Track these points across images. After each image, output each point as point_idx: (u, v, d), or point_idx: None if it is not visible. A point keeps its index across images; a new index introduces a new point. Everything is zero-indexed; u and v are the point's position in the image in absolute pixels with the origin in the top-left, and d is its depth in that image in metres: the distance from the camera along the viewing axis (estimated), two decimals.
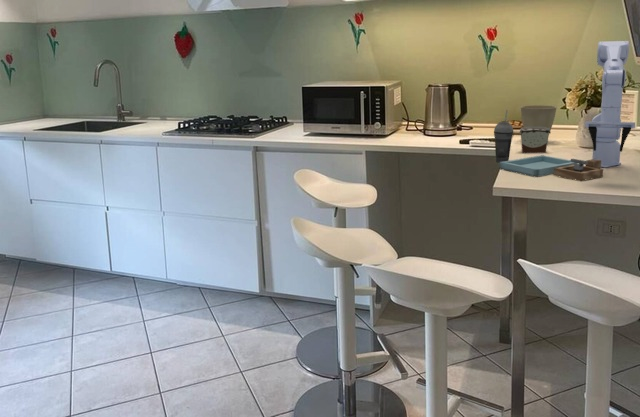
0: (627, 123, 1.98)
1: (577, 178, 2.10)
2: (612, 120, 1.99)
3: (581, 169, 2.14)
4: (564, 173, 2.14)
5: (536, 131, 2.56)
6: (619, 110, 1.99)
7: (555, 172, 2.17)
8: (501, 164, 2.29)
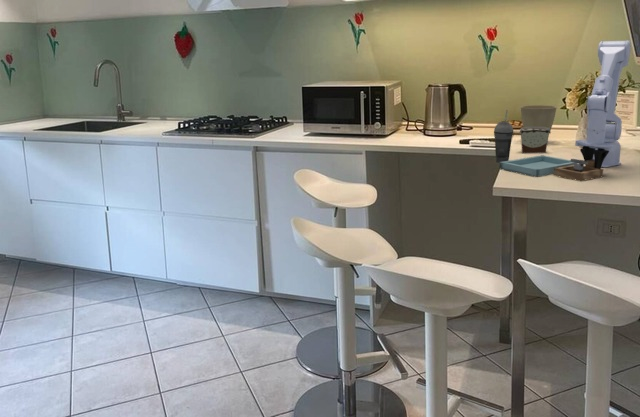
0: (605, 146, 2.12)
1: (577, 178, 2.10)
2: (591, 142, 2.15)
3: (581, 169, 2.14)
4: (564, 173, 2.14)
5: (536, 131, 2.56)
6: (599, 133, 2.13)
7: (555, 172, 2.17)
8: (501, 164, 2.29)
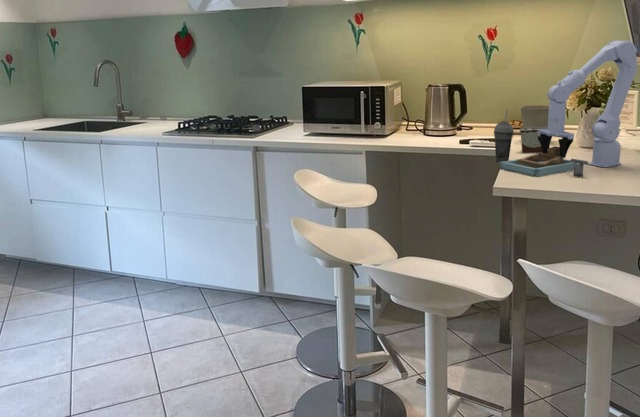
0: (564, 134, 2.24)
1: None
2: (552, 131, 2.27)
3: (581, 169, 2.14)
4: (527, 164, 2.27)
5: (536, 131, 2.56)
6: (559, 122, 2.25)
7: (519, 164, 2.30)
8: (501, 164, 2.29)
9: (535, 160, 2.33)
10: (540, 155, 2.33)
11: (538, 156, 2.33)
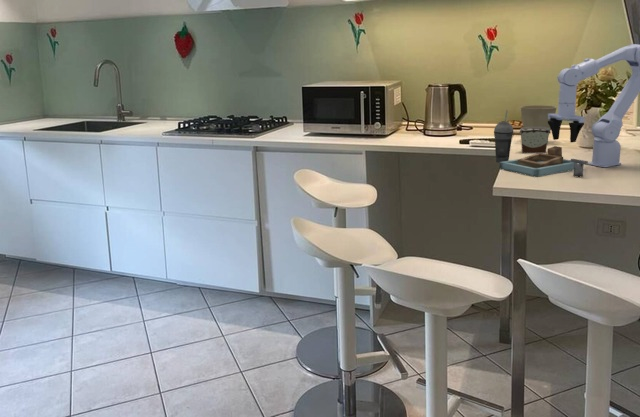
0: (575, 118, 2.22)
1: None
2: (562, 114, 2.25)
3: (581, 169, 2.14)
4: (527, 164, 2.27)
5: (536, 131, 2.56)
6: (570, 105, 2.23)
7: (519, 164, 2.30)
8: (501, 164, 2.29)
9: (535, 160, 2.33)
10: (540, 155, 2.33)
11: (538, 156, 2.33)
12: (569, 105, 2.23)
